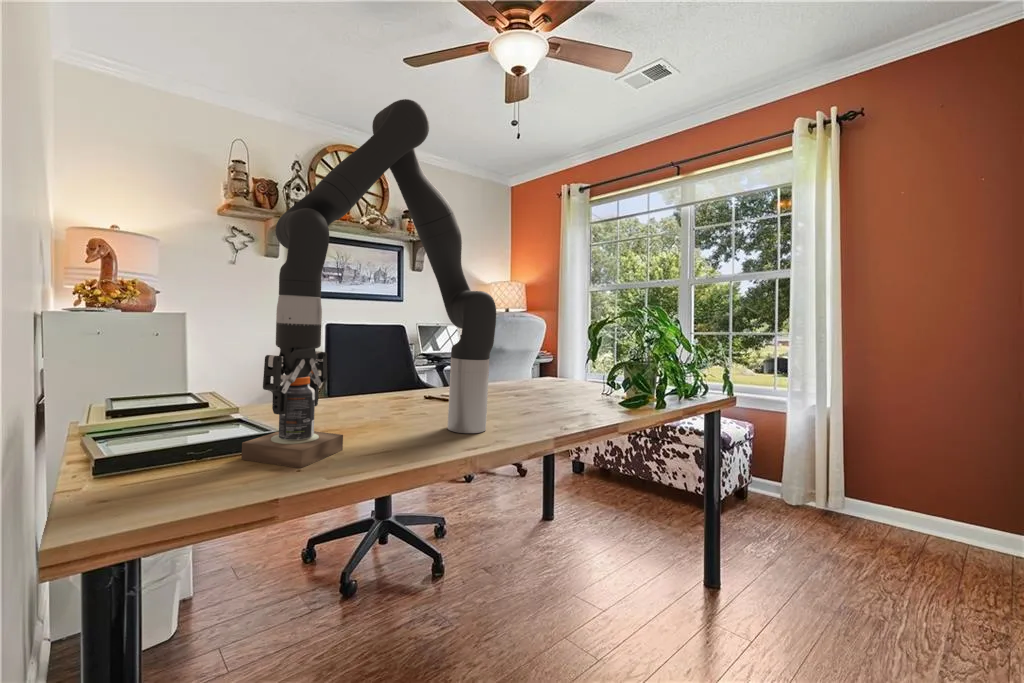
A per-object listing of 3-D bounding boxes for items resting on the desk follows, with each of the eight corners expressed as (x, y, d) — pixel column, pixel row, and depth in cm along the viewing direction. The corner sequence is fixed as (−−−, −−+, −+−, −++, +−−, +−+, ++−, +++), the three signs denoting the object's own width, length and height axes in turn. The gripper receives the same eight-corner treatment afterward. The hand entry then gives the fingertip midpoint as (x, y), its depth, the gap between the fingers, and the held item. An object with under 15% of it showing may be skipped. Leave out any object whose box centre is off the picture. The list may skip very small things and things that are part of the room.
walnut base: (289, 443, 94) (289, 427, 94) (342, 450, 91) (343, 433, 91) (241, 459, 82) (242, 441, 82) (301, 468, 80) (301, 449, 79)
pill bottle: (319, 434, 90) (322, 375, 89) (302, 442, 84) (305, 378, 83) (290, 432, 90) (292, 373, 90) (271, 439, 84) (273, 376, 84)
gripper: (290, 322, 78) (287, 419, 79) (340, 322, 92) (337, 405, 93) (251, 320, 80) (249, 415, 80) (307, 320, 94) (304, 402, 94)
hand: (296, 409), depth 86 cm, fingers open, 8 cm apart
